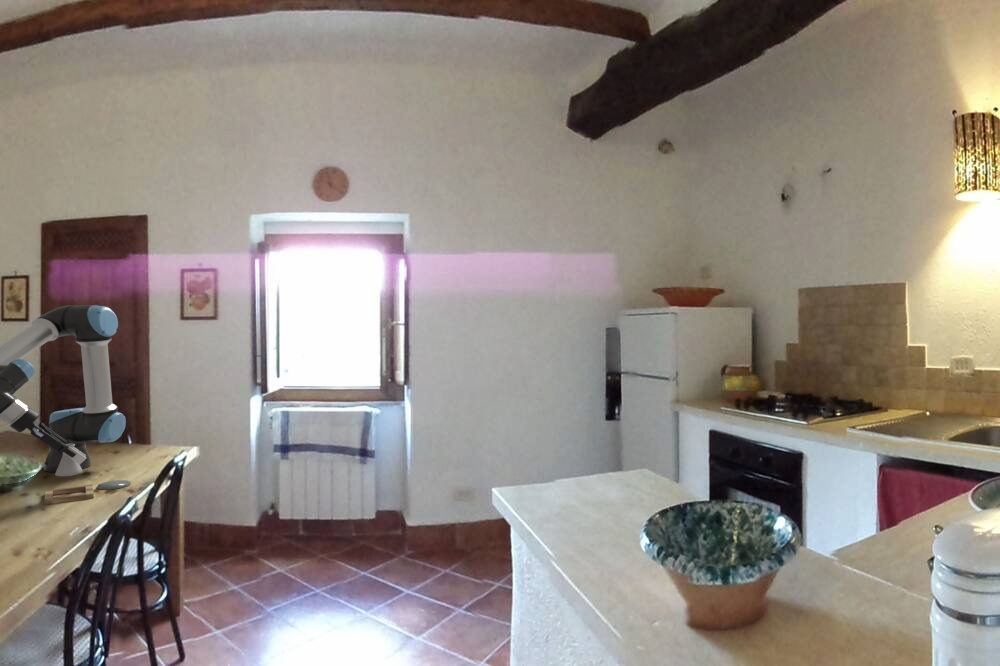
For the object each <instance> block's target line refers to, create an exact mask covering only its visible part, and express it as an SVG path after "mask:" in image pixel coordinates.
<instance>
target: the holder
mask: <svg viewBox="0 0 1000 666" xmlns="http://www.w3.org/2000/svg"><path fill="white" fill-rule="evenodd" d="M79 492H85V493H79ZM70 493H71V494H70ZM72 493H77V494H72ZM44 494H45V495H44V506H46V505H52V504H53V505H54V504H60V503H67V502H68V503H69V502H75V501H76V502H77V501H82V500H83V501H84V500H89V499H90V500H91V499H94V497H95V496H94V495H95V494H94V487H93V484H85V485H83V484H82V485H76V486H68V487H60V488H59V487H58V488H53V489H51V488H50V489H46V490H45V493H44ZM63 494H64V495H63ZM65 494H68V495H65ZM56 495H57V496H56ZM58 495H59V496H58ZM60 495H61V496H60Z"/></svg>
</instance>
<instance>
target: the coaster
mask: <svg viewBox="0 0 1000 666" xmlns="http://www.w3.org/2000/svg"><path fill="white" fill-rule="evenodd" d="M131 485H132V484H131V481H130V480H123V479H119V480H109V481H105V482H102V483H98V484H97V486H96V488H97V490H101V491H107V490H109V491H111V490H118V489H123V488H127V487H129V486H131Z"/></svg>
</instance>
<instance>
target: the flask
mask: <svg viewBox="0 0 1000 666" xmlns="http://www.w3.org/2000/svg"><path fill="white" fill-rule="evenodd" d="M66 445H67V446H68V447H69V446H70V447H71V448H73V449H74V446H75V444H66ZM83 472H84V471H83V469H81V467H80V465H79V464H78V463H76V462H75V461H73V460H72V459H70V458H69V457H67V456H66V455H64V454H63V456H62V459H61V461H60V464H59V466H58V469H57V471H56V472H54V475H55V476H57V477H71V476H76V475H79V474H81V473H83Z"/></svg>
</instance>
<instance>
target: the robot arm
mask: <svg viewBox="0 0 1000 666" xmlns="http://www.w3.org/2000/svg"><path fill="white" fill-rule="evenodd" d="M118 320H119V319H118V317H117V315H116V313H115V312H114V310H112V309H111V308H110V307H108V306H104V305H101V306H100V305H94V304H93V305H74V304H71V305H70V304H69V305H63V306H59V307H57V308H55V309H52V310H50V311H48V312H46V313H44V314H42V315H40V316H39V317H37V318H35V319H34V320H33V321H32V322H31V325H30V326H28V327H27V328H26V329H24V330H22V331H21V332H20V333H18V334H16V335H14V336H13V337H12V338H10V339H9V340H8V341H6V342H4V343H3V344H1V345H0V422H3V423H5V425H10V428H12V429H13V430H14V431H16V432H17V433H22V432H23V431H25V430H26V429H28V431H30V434H31V436H33V437H34V438H37V439H39V440H40V441H42V442H43V443H45V444H46V445H47V446H49V449H48V453H47V455H46V457H45V461H44V462H43V463H44V464H43V471H44V472H50V473H56V471H57V469H58V466H59V464H60V461H61V459H62V456H63V454H64V455H66V456H67V457H69V458H70V459H72V460H73V461H75V462H76V463H78V464H79V465H80V467H81V469H82V470H83V469H87V468H88V467H90V466H92V459H91V456H90V453H89V451H88V449H87V443H101V444H102V443H103V444H105V443H112V442H115V441H117V440H119V438H121V437H122V436H123V435H122V434H123V433H124V431H125V429H126V423H127V420H126V416H125V415H124V414H123V413H121V412H119V410H118V406H117V405H116V404H114V403H113V394H112V381H111V372H110V371H111V368H110V356H109V346H108V344H109V343H110V342H111V341H112V340H113V338H112V336H115V334H116V333H117V331H118V330H117V329H118V328H119V321H118ZM65 336H74V338H75V343H77V344H78V345H79V346H80V349H81V359H82V360H81V361H82V373H83V383H84V392H85V393H84V395H85V407H78V408H77V407H76V408H69V409H63V410H57V411H54V412H51V413H50V415H49V422H48V426H47V425H46V424H45V423H43V422H38V421H36V420H38V419H39V417H40V414H39V412H37V411H36V410H35V409H33V408H30V407H29V406H28V405H27V404H26V403H25V402H23V401H21V400H20V399H19V398H17V397H16V396H14V394H15V393H16V392H17V391H19V390H20V389H21V388H22V387H23V386H24V385H25V384H27V383H28V382H29V381H30V379H32V377H34V375H35V373H36V370H35V367H34V366H33V363H30V362H29V361H28V360H26V359H25V358H26V357H28V356H29V355H30V354H31V353H33V352H34V351H36V350H37V349H39V348H41V347H42V346H43V345H44V344H46V343H48V342H54V341H55V340H57V339H58V338H60V337H65ZM66 444H75V446H74V449H73V448H71V447H70V446H69V447H68V446H67V445H66Z"/></svg>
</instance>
